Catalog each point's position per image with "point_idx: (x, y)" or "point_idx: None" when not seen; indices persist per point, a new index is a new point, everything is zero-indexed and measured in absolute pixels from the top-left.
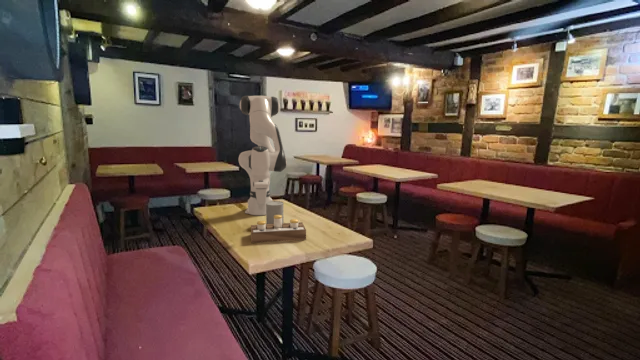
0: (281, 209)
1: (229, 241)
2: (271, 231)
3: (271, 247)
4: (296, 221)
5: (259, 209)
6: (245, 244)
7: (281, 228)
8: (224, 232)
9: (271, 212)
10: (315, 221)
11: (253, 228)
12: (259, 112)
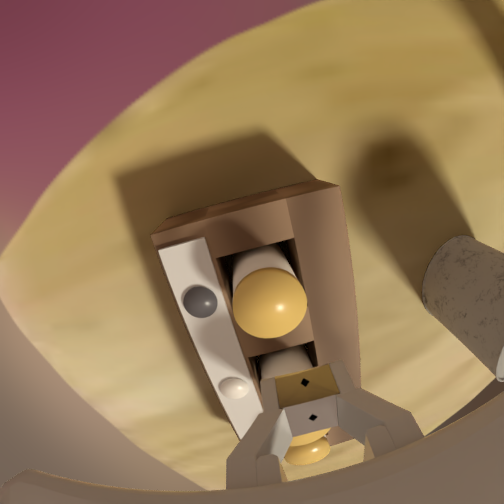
0: (482, 362)
1: (181, 79)
2: (201, 355)
3: (129, 331)
4: (289, 462)
5: (262, 382)
6: (141, 190)
7: (254, 396)
8: (338, 19)
9: (479, 308)
10: (444, 404)
11: (252, 225)
12: None
